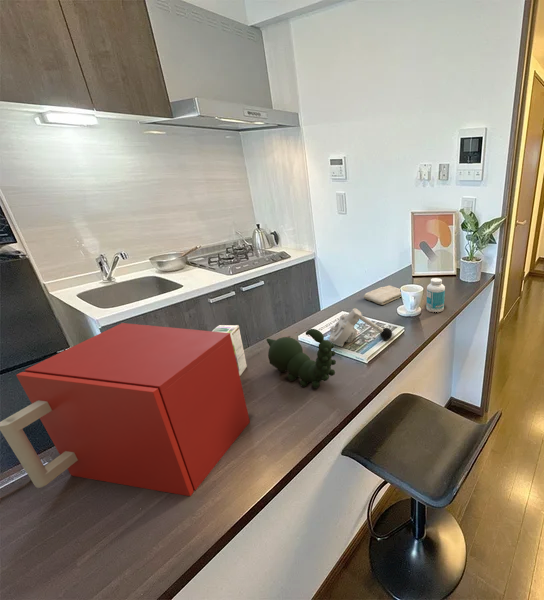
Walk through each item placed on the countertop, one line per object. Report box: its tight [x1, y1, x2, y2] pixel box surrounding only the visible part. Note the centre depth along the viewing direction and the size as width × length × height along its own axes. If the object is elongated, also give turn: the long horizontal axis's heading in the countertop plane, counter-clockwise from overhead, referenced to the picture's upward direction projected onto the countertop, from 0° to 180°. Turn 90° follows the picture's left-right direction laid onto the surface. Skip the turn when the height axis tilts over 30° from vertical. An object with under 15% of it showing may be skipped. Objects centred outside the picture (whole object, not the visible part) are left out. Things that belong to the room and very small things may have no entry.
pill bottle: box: [426, 277, 446, 314], centre depth 136 cm, size 8×7×14 cm
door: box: [0, 371, 195, 497], centre depth 55 cm, size 7×26×24 cm, turn 81°
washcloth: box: [363, 284, 402, 306], centre depth 150 cm, size 12×18×3 cm, turn 140°
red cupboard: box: [24, 322, 251, 491], centre depth 67 cm, size 18×26×24 cm
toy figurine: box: [265, 328, 337, 389], centre depth 91 cm, size 9×19×25 cm
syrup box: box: [212, 324, 248, 376], centre depth 94 cm, size 6×6×14 cm
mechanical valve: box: [329, 307, 393, 348], centre depth 113 cm, size 10×18×15 cm
